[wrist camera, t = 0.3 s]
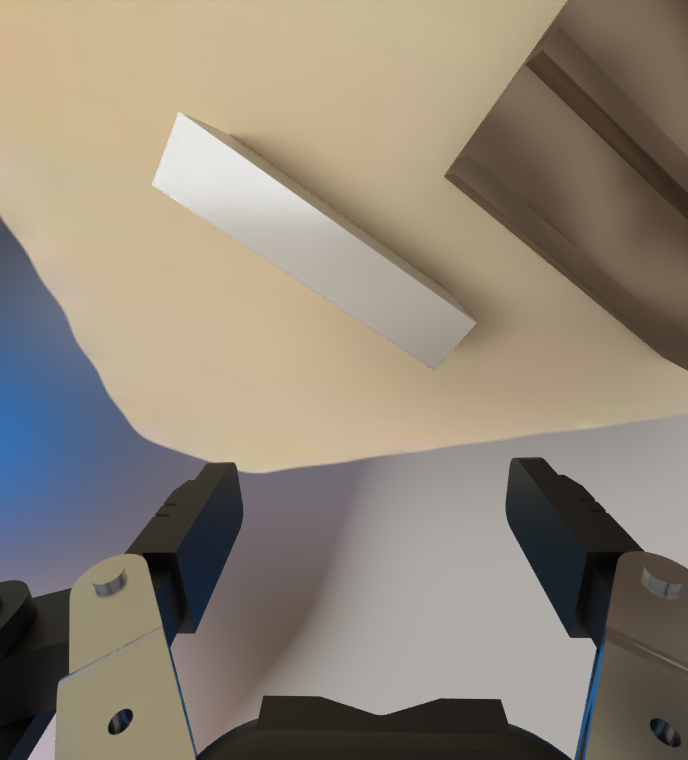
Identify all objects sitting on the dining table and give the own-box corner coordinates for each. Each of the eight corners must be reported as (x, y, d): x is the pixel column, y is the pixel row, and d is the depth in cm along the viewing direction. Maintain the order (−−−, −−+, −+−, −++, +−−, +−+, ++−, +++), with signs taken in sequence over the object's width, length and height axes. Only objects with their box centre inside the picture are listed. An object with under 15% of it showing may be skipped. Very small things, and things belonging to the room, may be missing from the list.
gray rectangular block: (229, 134, 26) (178, 111, 19) (450, 293, 30) (476, 322, 23) (207, 188, 28) (151, 184, 21) (419, 332, 32) (435, 371, 25)
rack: (633, -93, 20) (681, -145, 17) (868, 184, 25) (939, 182, 22) (443, 176, 27) (454, 173, 23) (663, 357, 32) (696, 375, 28)
